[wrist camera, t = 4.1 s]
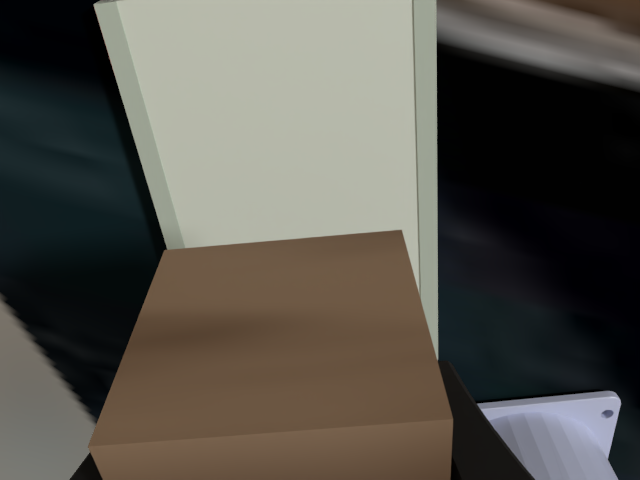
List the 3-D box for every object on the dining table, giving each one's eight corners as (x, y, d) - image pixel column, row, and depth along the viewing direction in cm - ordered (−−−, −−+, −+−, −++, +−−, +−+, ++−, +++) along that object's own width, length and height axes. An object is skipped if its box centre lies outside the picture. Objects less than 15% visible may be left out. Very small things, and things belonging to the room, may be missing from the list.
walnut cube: (404, 398, 15) (444, 609, 10) (209, 413, 15) (169, 627, 11) (402, 229, 12) (453, 419, 8) (164, 249, 12) (87, 446, 8)
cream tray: (435, 349, 23) (437, 359, 22) (209, 373, 23) (207, 383, 23) (431, -41, 15) (435, -39, 15) (99, 0, 16) (93, 4, 15)
